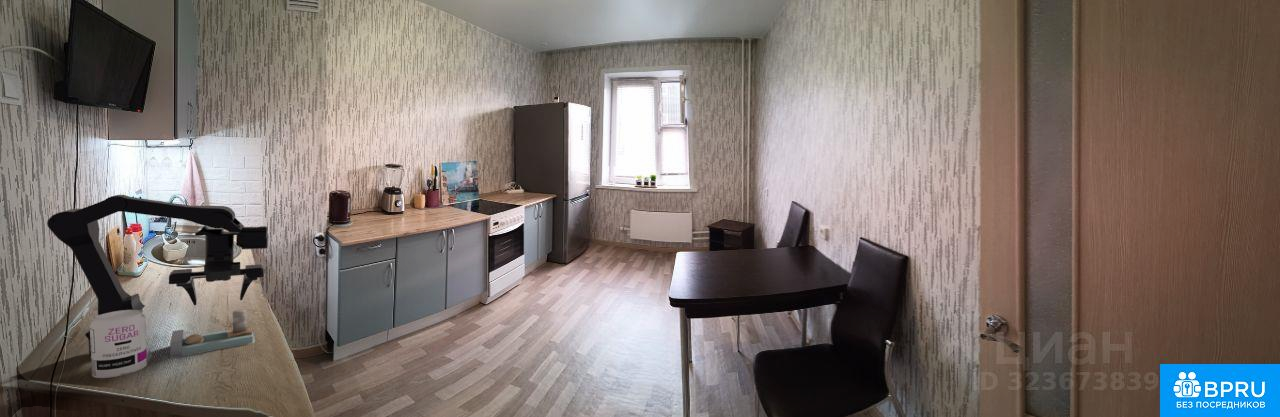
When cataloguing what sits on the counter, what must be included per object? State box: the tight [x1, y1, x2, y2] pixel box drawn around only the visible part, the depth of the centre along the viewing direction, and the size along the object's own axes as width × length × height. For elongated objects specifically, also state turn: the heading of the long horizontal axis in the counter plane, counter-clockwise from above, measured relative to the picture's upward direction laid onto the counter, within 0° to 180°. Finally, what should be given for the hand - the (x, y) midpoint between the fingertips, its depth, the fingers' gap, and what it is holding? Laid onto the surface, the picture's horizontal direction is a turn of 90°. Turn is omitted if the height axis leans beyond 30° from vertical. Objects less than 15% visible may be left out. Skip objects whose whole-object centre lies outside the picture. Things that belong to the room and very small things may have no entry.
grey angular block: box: [169, 329, 185, 358], centre depth 109 cm, size 2×9×4 cm, turn 47°
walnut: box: [184, 333, 203, 346], centre depth 111 cm, size 4×4×4 cm
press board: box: [170, 329, 256, 359], centre depth 114 cm, size 16×10×3 cm, turn 137°
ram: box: [226, 309, 253, 339], centre depth 117 cm, size 5×5×8 cm
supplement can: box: [89, 310, 148, 379], centre depth 98 cm, size 8×8×15 cm
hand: (218, 302), depth 117 cm, fingers open, 9 cm apart
